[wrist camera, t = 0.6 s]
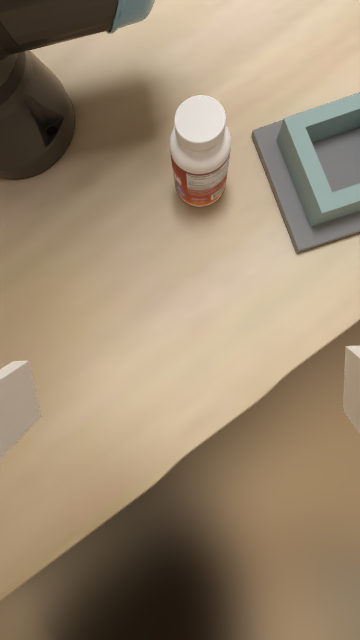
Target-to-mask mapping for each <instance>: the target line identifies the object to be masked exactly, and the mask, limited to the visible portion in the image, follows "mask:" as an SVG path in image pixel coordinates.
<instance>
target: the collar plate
mask: <svg viewBox="0 0 360 640" xmlns="http://www.w3.org/2000/svg"><path fill="white" fill-rule="evenodd" d="M252 138H253V141H254V144H255V146H256V149H257V151H258V154H259V157H260V159H261V162H262V165H263V167H264V170H265V172H266V175H267V178H268V180H269V183H270V185H271V188H272V191H273V193H274V196H275V199H276V201H277V204H278V206H279V209H280V212H281V214H282V217H283V219H284V222H285V225H286V227H287V230H288V233H289V235H290V238H291V240H292V243H293V246H294V248H295V251H296V253H298V252H302V251H305V250H308V249H311V248H314V247H317V246H320V245H323V244H326V243H329V242H332V241H335V240H338V239H341V238H344V237H347V236H350V235H354V234H357V233H360V92H359V93H356V94H353V95H351V96H348V97H345V98H342V99H339V100H336V101H333V102H330V103H327V104H324V105H321V106H318V107H315V108H313V109H310V110H307V111H304V112H301V113H298V114H295V115H292V116H289V117H286V118H284V119H283V120H282V121H279V122H276V123H273V124H270V125H267V126H264V127H261V128H258V129H255V130H253V132H252Z"/></svg>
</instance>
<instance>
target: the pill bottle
mask: <svg viewBox="0 0 360 640" xmlns="http://www.w3.org/2000/svg"><path fill="white" fill-rule="evenodd" d="M174 126H175V127H174V129H173V131H172V133H171V136H170V153H171V160H172V166H173V173H174V179H175V185H176V189H177V192H178V194H179V196H180V197H181V198H182V199H183V200H184V201H185V202H186V203H188V204H190V205H192V206H197V207H202V206H207V205H210V204H212V203H214V202H215V201H217V200H218V199H219V198H220V196H221V195H222V193H223V191H224V189H225V185H226V179H227V171H228V163H229V157H230V149H231V136H230V132H229V129H228V128H227V126H226V114H225V111H224V108H223V106H222V105H221V104H220V103H219V102H218V101H217V100H216V99H214V98H212V97H210V96H206V95H197V96H193V97H190V98H188V99H186V100H185V101H184V102H182V104H181V105H180V106H179V107H178V109H177V111H176V113H175V117H174Z"/></svg>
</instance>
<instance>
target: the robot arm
mask: <svg viewBox="0 0 360 640" xmlns="http://www.w3.org/2000/svg"><path fill="white" fill-rule="evenodd" d="M154 1H155V0H0V178H4V179H23V178H28V177H31V176H34V175H37V174H39V173H41V172H43V171H45V170H46V169H48V168H49V167H51V166H52V165H53V164H54V163H55V162H56V161H57V160H58V159H59V158H60V157H61V156H62V155H63V154H64V152H65V151H66V149H67V147H68V146H69V143H70V141H71V139H72V136H73V132H74V126H75V115H74V109H73V106H72V103H71V101H70V99H69V97H68V95H67V93H66V91H65V89H64V87H63V85H62V84H61V82H60V81H59V79H58V78H57V77H56V76H55V75H54V74H53V73H52V72H51V71H50V70H49V69H48V68H47V67H46V66H45V65H44V64H43V63H42V62H41V61H40V60H39V59H38V58H37V57H36V56H35V55H34V54H33V53H32V52H31V51H30V50H32V49H36V48H40V47H44V46H48V45H52V44H56V43H60V42H64V41H68V40H72V39H76V38H80V37H84V36H88V35H92V34H96V33H100V32H104V31H106V32H107V33H108V34H111V33H113V32H115V31H116V30H117V28H121V27H124V26H127V25H130V24H134V23H137V22H140V21H142V20H143V19H145V18H146V17H147V16H148V14H149V13H150V11H151V9H152V7H153V4H154ZM345 353H346V354H345V375H344V398H343V411H344V412H345V414H346V415H347V417H348V418H349V419H350V421H351V422H352V423H353V425H354V426H355V427H356V429H357V430H358V431H359V433H360V346H346V352H345ZM41 417H42V416H41V411H40V407H39V402H38V398H37V393H36V389H35V384H34V380H33V375H32V371H31V366H30V362H29V361H13V362H11V363H10V364H8V365H6V366H5V367H3V368H1V369H0V459H1V458H2V457H3V456H4V455H5V454H6V453H7V452H8V451H9V450H10V449H11V448H12V447H13V446H14V445H15V444H16V443H17V441H18V440H19V439H20V438H21V437H22V436H23V435H24V434H25V433H26V432H27V431H28V430H29V429H30V428H31V427H32V426H33V425H34V424H35V423H36V422H37V421H38V420H39V419H40V418H41Z"/></svg>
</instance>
